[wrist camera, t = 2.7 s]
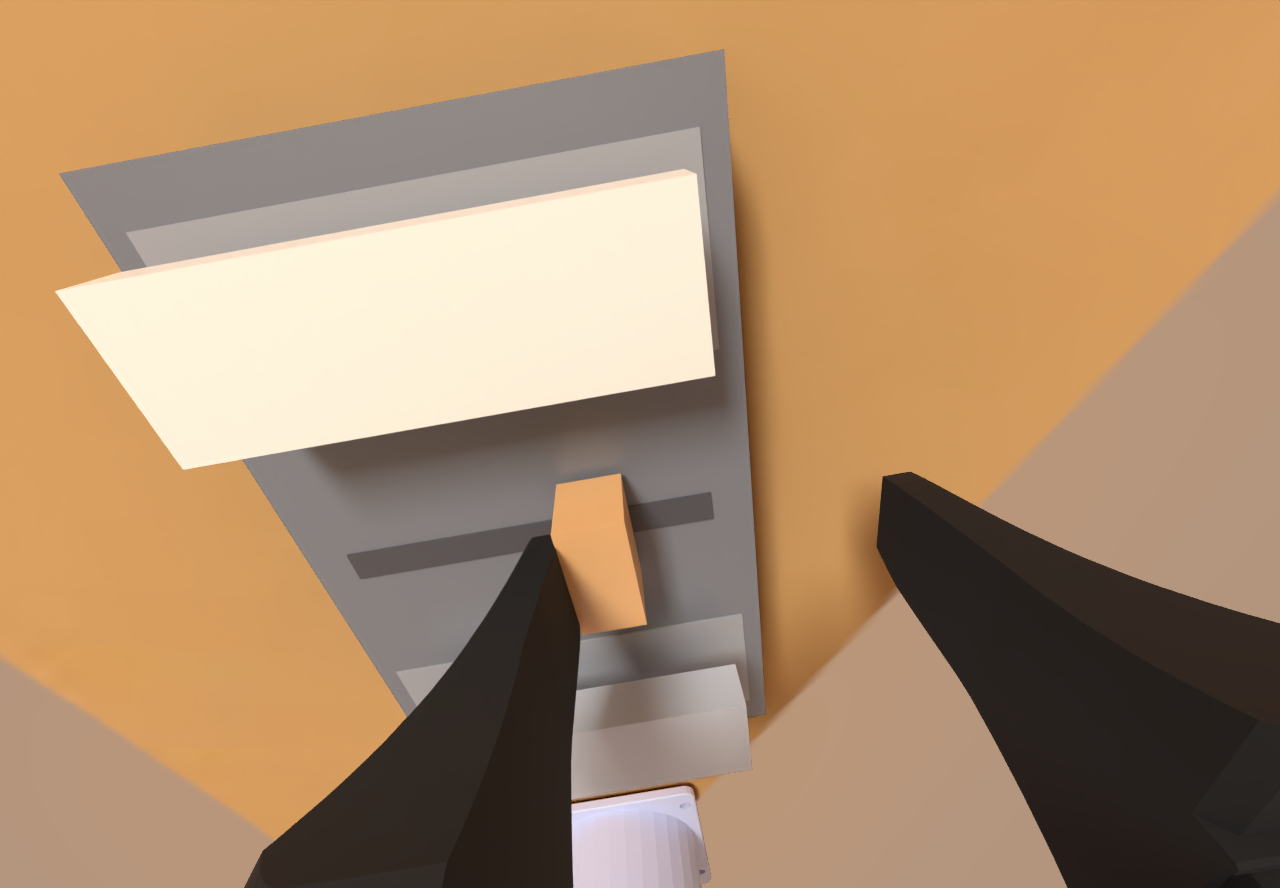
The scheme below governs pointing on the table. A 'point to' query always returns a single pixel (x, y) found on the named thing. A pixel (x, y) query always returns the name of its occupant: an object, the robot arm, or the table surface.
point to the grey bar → (659, 731)
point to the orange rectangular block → (598, 554)
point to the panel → (503, 443)
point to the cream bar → (411, 321)
